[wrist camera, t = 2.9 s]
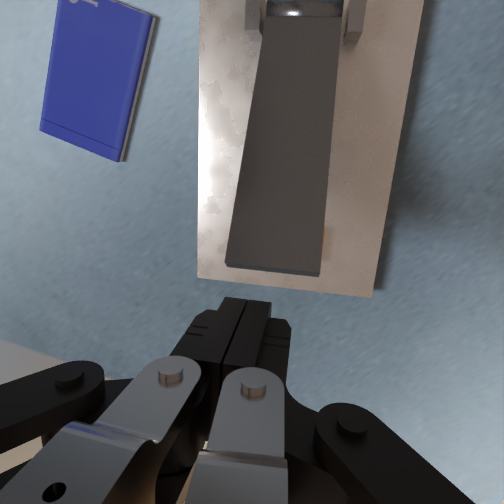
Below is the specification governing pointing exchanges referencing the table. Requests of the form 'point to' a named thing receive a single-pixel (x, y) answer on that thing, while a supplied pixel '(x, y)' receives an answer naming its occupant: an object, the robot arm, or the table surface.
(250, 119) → the flat pivoting pedal
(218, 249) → the mounting plate
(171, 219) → the table surface
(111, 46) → the hard drive
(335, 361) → the table surface
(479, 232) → the table surface
